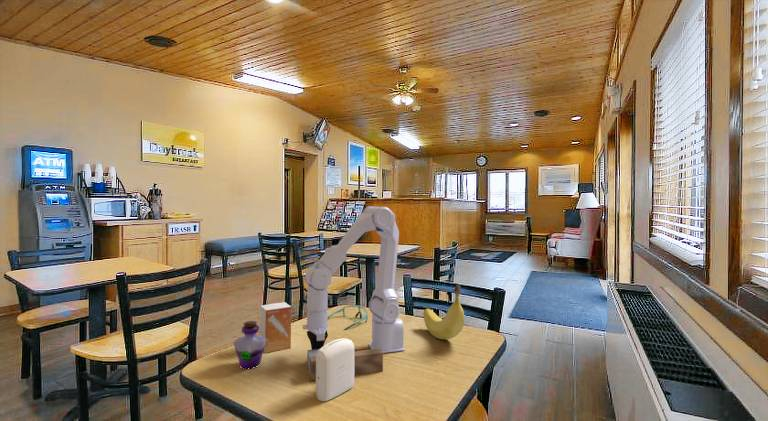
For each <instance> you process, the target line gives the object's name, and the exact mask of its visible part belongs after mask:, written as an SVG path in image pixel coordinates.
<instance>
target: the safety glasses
mask: <svg viewBox="0 0 768 421" xmlns="http://www.w3.org/2000/svg"><path fill="white" fill-rule="evenodd" d="M350 307H354V308H355V307H356V308H358V312H357V313H356V314H355V318H358V316H359V318H360V320H358V321H356V322H353V323H352V324H350V325H348V326H347V327H345V328H344V329H342V331H347V330H348V329H350V328H352V327H354V326H356V325H358V324H360V323H361V322H363V320H365V321H364V322H365V323H368V319H369V318H368V317H369V316H368V310H367V309H366V308H365V306H361V305H358V304H350V305H347V306H344V307H342V308H340V309H337V310H335V311H334V312H333V313H331V314H330V315H329V316H328V315H327V321H329V319H330V318H331V317H333V316H335V314H338V313H341V312H342V314H343V317H350V316H348V315H345V308H350ZM361 309H363V311H365V315H364V316H363V313H362V311H361Z"/></svg>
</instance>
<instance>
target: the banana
mask: <svg viewBox="0 0 768 421" xmlns="http://www.w3.org/2000/svg"><path fill="white" fill-rule="evenodd" d="M453 292H454V294H455V297H454V301H453V303H452V304H451V305H450V307H449V308H448V309H447V311H446V314H445V315H444V317H443V318H441V317H440V316H439V315H437V314H436V313H435V312H434V311H433V310H432V309H430V308H425V309H424V311H423V315H422V316H423V320H424V324H425V327H426V329H427V330H428V332H429V333H430V334H431V335H432V336H433V337H434V338H436V339H439V340H451V339H454V338H455V337H457V336H458V335H459V334H460V333H461V332H462V331H463V328H464V326H465V312H464V309H463V307H462V305H461V302H460V300H459V295H460V293H461V285H459V284H457V285H455V287H454V289H453Z"/></svg>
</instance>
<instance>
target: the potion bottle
mask: <svg viewBox="0 0 768 421" xmlns="http://www.w3.org/2000/svg"><path fill="white" fill-rule="evenodd" d="M243 323H244V325H243V326H242V327H241V333H242V334H244V336H241V337H238V338H237V339H236V340H234V341H233V345H234V350H235V354H236V355H237V358H238V363H239V366H241V367H242V368H241V369H242V370H252V368H253V367H256V366H258V365H259V364H260V363H261V362H262V357H263V352H264V351H263V350H264V348H265V343H266V339H267V338H265V337H263V336H261V335H260V334H257V333H258V332H260V325H258V324H257V321H256V320H249V321H245V322H243ZM260 365H261V364H260ZM260 365H259V366H260ZM243 368H244V369H243ZM248 368H249V369H248ZM256 368H257V367H256ZM253 369H254V368H253Z"/></svg>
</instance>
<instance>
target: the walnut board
mask: <svg viewBox="0 0 768 421" xmlns="http://www.w3.org/2000/svg"><path fill="white" fill-rule="evenodd" d="M354 363H355V364H354V376H358V375H366V374H372V373H380V372H383V370H384V353H383V352H382V351H381V350H380V349H366V350H364V349H363V350H357V351H355V350H354ZM309 378H310V381H312V382H314V381H316V356H311V357H310V372H309Z"/></svg>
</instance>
